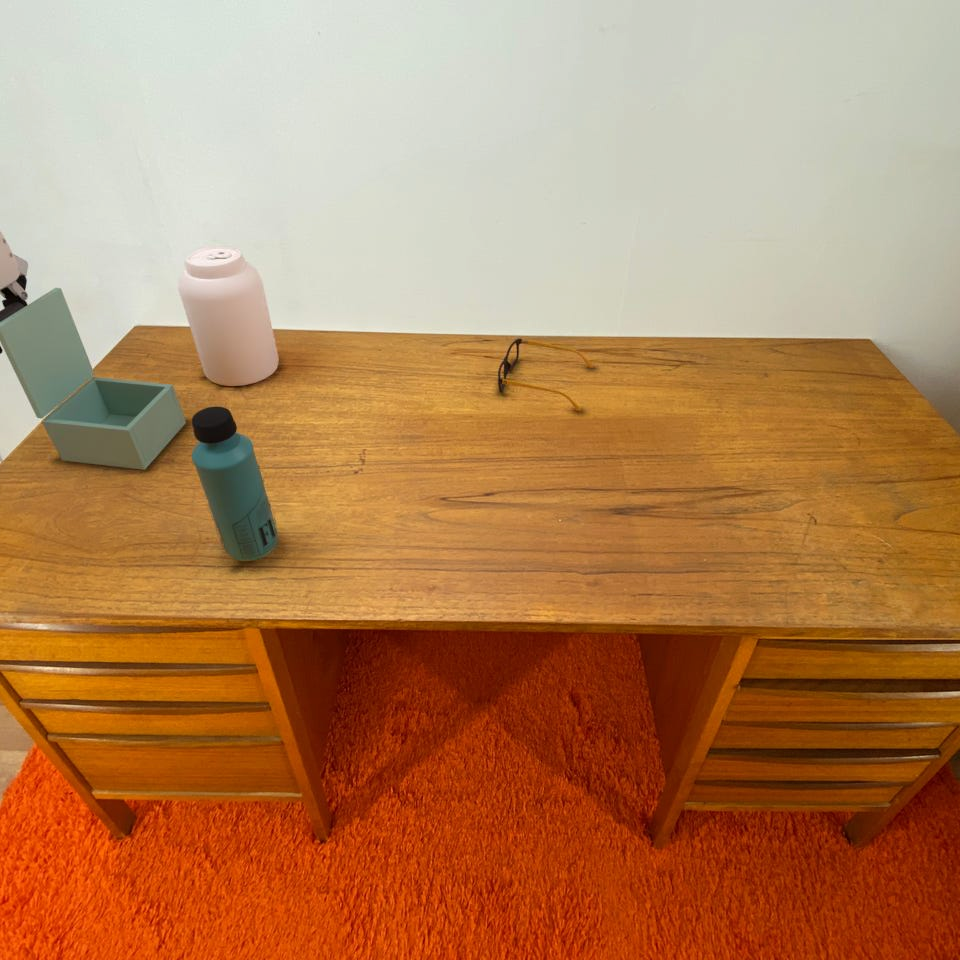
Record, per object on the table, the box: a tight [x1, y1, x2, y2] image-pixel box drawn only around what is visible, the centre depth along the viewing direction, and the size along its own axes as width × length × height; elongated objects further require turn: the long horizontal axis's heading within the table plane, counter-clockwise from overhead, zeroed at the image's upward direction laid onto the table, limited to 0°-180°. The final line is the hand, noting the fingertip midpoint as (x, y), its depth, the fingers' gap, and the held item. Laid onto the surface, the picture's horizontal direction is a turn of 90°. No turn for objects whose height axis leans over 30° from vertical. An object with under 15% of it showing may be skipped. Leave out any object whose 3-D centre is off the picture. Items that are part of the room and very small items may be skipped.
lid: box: [0, 287, 95, 419], centre depth 86 cm, size 13×12×6 cm
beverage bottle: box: [191, 405, 279, 562], centre depth 71 cm, size 6×7×20 cm
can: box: [178, 245, 280, 387], centre depth 104 cm, size 12×12×20 cm
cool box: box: [41, 376, 187, 471], centre depth 92 cm, size 13×12×7 cm
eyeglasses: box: [497, 338, 594, 412], centre depth 107 cm, size 14×14×4 cm
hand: (9, 339), depth 85 cm, fingers closed on lid, 6 cm apart
